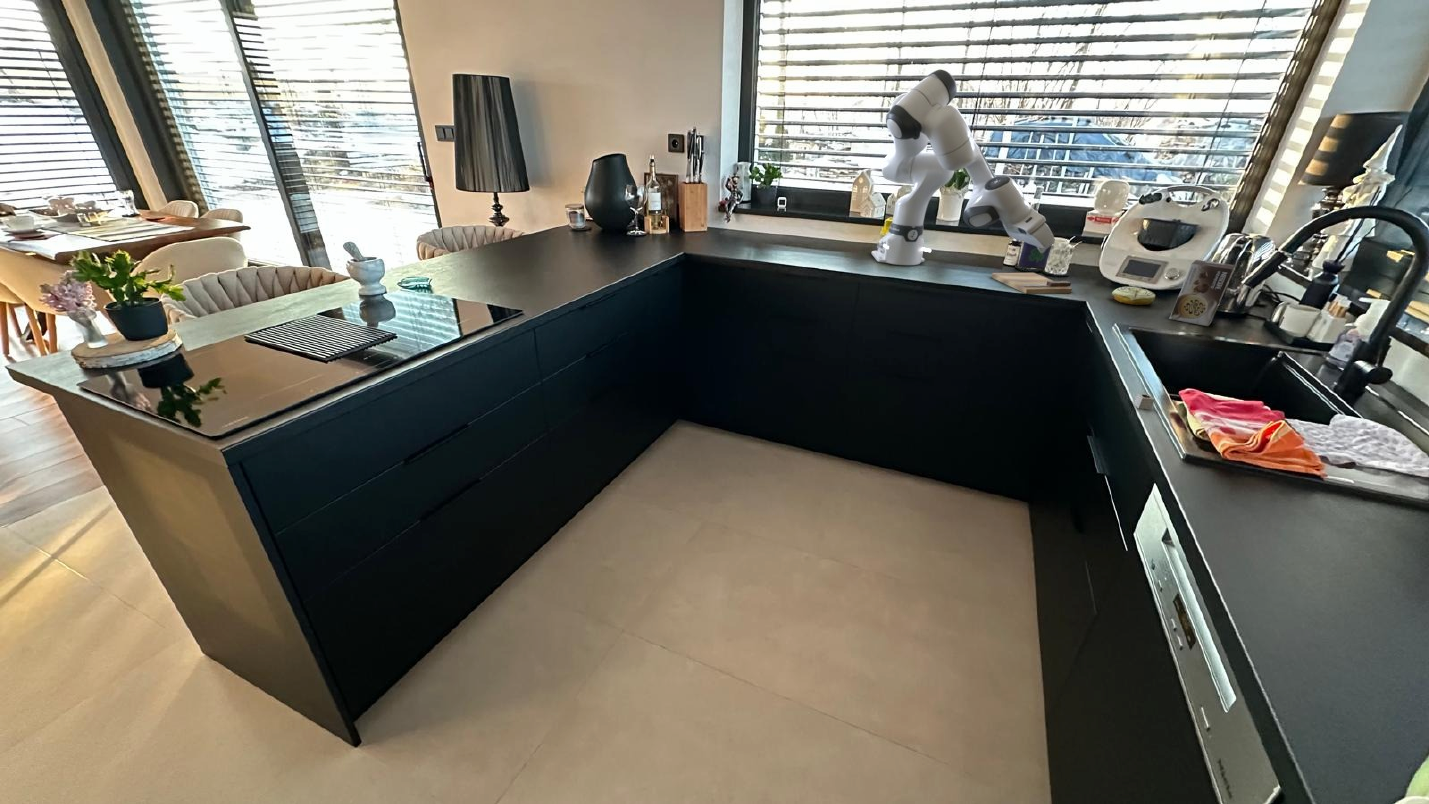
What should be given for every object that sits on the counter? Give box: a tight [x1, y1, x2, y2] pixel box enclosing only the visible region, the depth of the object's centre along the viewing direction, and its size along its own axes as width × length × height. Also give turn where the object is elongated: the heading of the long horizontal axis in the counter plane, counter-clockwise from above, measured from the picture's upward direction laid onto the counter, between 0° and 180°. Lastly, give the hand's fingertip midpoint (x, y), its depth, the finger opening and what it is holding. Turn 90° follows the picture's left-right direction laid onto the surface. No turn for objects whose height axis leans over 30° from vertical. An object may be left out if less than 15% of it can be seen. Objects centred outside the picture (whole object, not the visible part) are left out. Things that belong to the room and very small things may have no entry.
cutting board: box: [990, 272, 1073, 295], centre depth 188 cm, size 20×16×2 cm
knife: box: [1022, 280, 1072, 287], centre depth 182 cm, size 2×16×1 cm, turn 97°
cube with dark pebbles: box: [1133, 393, 1156, 411], centre depth 109 cm, size 2×2×2 cm
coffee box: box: [1168, 259, 1237, 327], centre depth 154 cm, size 9×6×16 cm
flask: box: [1017, 242, 1053, 270], centre depth 184 cm, size 9×3×11 cm, turn 91°
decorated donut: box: [1111, 286, 1156, 306], centre depth 173 cm, size 10×11×4 cm
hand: (1038, 250), depth 184 cm, fingers closed on flask, 3 cm apart
